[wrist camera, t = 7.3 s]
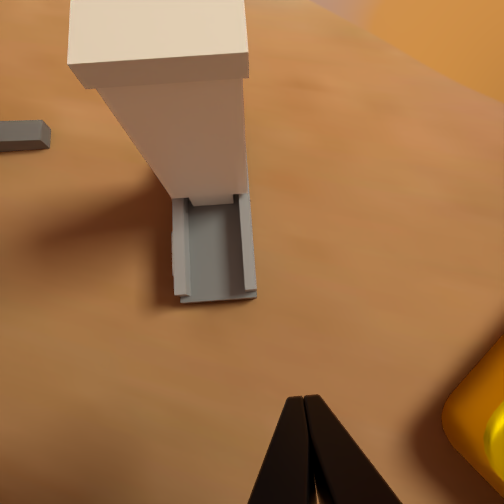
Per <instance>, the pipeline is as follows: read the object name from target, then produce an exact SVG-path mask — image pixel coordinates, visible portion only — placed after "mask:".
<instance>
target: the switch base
mask: <svg viewBox="0 0 504 504" xmlns="http://www.w3.org/2000/svg"><path fill="white" fill-rule="evenodd" d="M245 144H246V143H245ZM246 165H247V156H246ZM247 186H248V193H244V194H233V198H234V203H233V204H219V205H205V206H193V205H192V203H191V201H190V199H189V197H188V198H173V199H172V198H171V200H172V219H173V232H172V272H173V276H174V295H176V296H180V303H184V304H186V303H199V302H213V301H226V300H239V299H253V298H257V292H256V291H257V287H256V274H255V260H254V247H253V234H252V221H251V208H250V195H249V182H248V169H247Z"/></svg>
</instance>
